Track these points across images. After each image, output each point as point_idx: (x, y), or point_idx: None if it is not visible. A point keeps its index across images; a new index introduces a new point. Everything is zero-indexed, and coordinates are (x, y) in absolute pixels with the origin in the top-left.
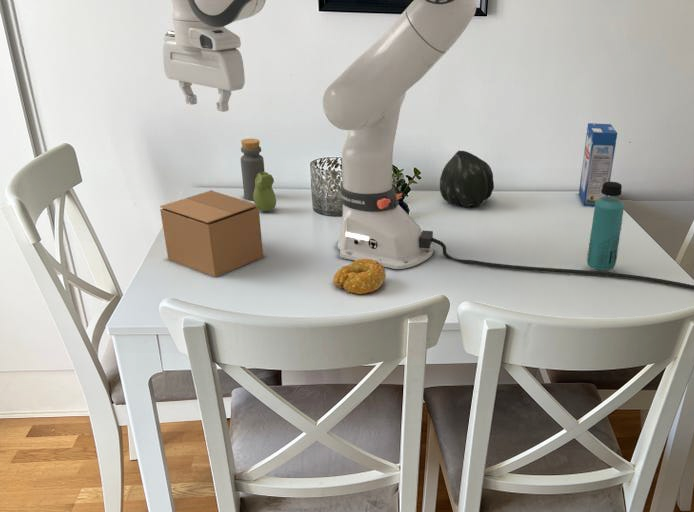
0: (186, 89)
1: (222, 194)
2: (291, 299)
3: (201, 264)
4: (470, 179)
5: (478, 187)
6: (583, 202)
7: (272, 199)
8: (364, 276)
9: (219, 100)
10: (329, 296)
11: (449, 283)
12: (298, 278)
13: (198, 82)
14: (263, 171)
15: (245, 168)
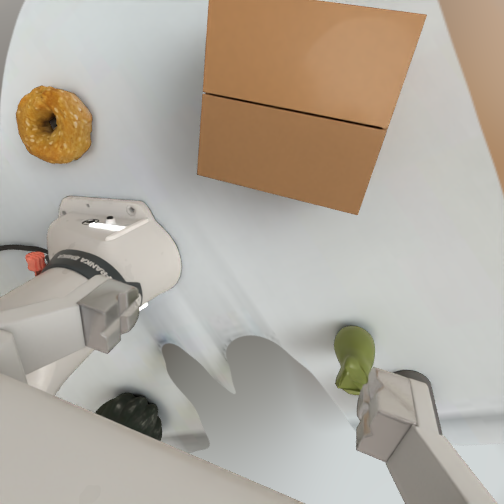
0: (434, 491)
1: (310, 200)
2: (97, 15)
3: None
4: None
5: (98, 411)
6: None
7: (335, 345)
8: (19, 103)
9: (60, 309)
10: (68, 64)
11: (7, 185)
12: (141, 100)
13: (140, 457)
14: None
15: None
